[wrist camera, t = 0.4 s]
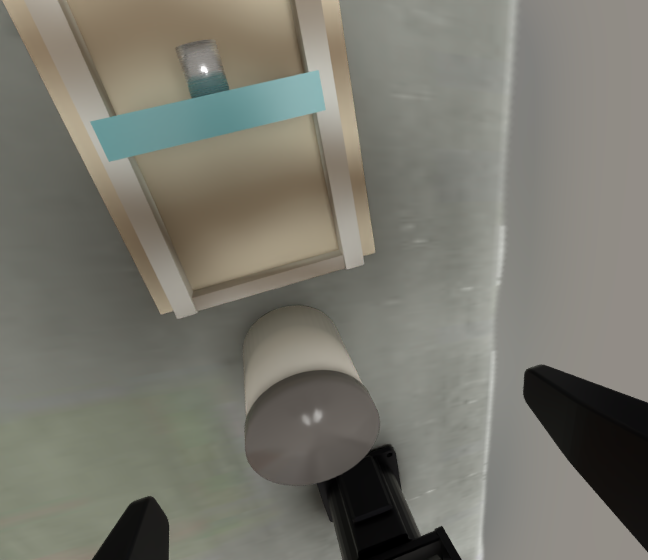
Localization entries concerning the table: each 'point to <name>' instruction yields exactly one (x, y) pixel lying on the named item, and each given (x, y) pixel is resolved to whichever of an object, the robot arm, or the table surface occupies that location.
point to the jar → (303, 399)
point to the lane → (212, 141)
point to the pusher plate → (208, 107)
